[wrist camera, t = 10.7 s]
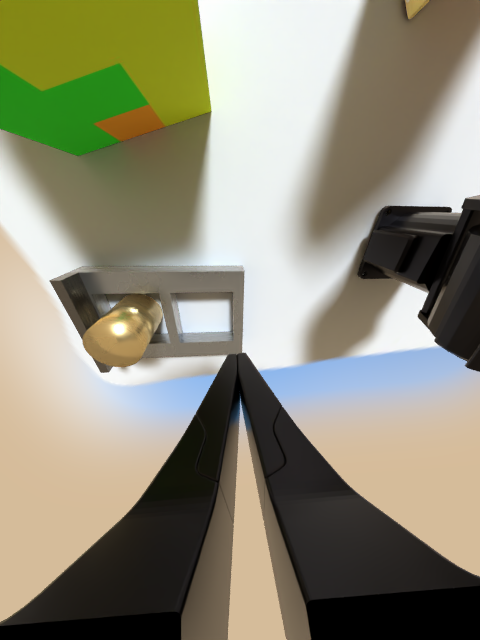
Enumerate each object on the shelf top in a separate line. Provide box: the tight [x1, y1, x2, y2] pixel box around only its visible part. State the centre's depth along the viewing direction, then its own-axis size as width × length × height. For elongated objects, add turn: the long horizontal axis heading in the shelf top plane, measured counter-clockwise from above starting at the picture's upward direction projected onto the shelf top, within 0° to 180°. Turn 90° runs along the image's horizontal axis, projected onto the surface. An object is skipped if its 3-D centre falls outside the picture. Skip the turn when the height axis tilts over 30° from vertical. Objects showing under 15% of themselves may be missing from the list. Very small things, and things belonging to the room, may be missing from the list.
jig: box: [50, 266, 244, 373], centre depth 19 cm, size 15×10×4 cm, turn 89°
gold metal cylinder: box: [83, 293, 163, 367], centre depth 17 cm, size 4×4×6 cm
